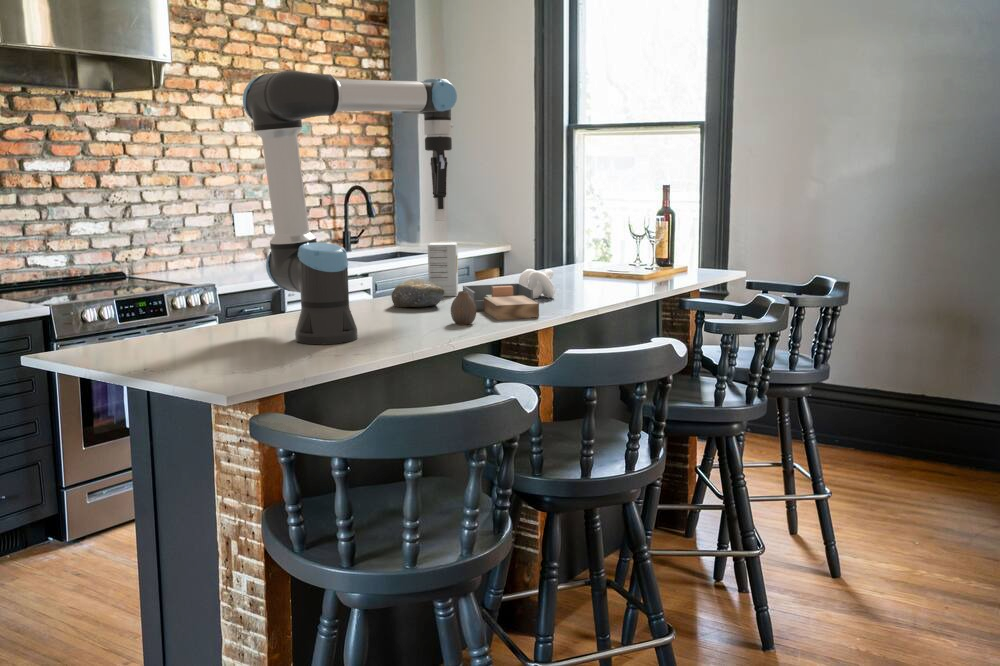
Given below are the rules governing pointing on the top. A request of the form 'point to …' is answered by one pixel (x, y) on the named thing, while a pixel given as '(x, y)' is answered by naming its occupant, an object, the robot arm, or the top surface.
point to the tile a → (501, 291)
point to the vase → (463, 309)
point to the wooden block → (511, 307)
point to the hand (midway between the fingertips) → (440, 220)
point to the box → (482, 290)
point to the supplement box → (444, 266)
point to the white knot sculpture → (538, 282)
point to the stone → (417, 294)
